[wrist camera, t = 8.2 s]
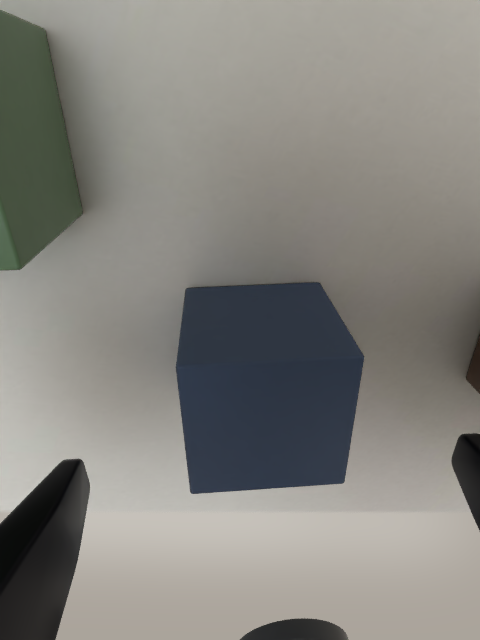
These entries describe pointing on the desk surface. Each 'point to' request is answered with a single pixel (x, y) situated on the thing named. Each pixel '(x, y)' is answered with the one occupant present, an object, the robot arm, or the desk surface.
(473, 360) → the walnut block
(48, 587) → the robot arm
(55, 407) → the desk surface
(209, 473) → the blue block
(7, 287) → the desk surface
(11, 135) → the green block
